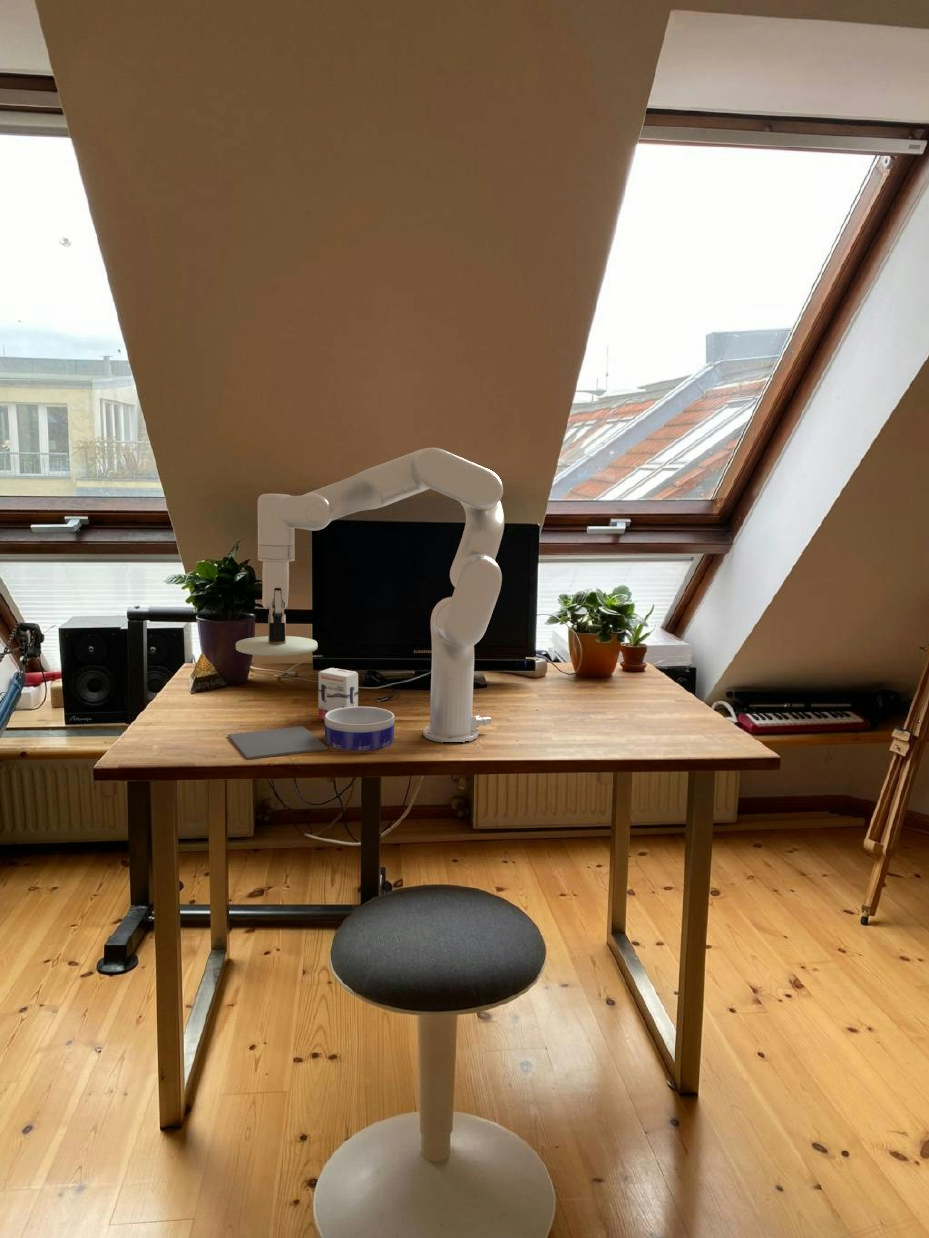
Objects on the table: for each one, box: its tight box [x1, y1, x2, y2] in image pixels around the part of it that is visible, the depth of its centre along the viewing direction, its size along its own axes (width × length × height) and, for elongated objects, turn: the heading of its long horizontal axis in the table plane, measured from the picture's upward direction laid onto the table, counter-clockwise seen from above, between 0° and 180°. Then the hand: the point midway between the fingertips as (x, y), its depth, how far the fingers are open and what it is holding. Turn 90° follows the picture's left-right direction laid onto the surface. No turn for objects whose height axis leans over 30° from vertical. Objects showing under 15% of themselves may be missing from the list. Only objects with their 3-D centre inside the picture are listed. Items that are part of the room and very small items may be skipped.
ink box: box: [317, 667, 359, 721], centre depth 206 cm, size 8×5×12 cm, turn 60°
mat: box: [227, 725, 328, 760], centre depth 187 cm, size 17×17×1 cm
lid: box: [235, 614, 319, 657], centre depth 183 cm, size 17×17×7 cm
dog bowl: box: [324, 706, 396, 752], centre depth 190 cm, size 15×15×6 cm
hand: (276, 638), depth 183 cm, fingers closed on lid, 3 cm apart
